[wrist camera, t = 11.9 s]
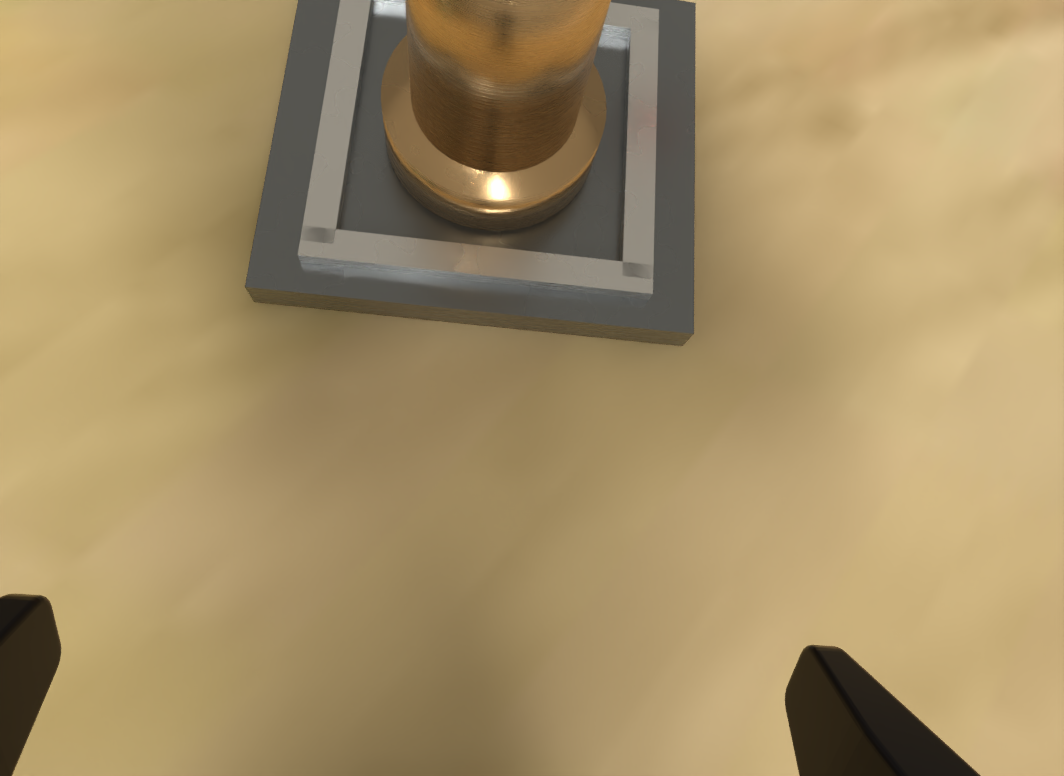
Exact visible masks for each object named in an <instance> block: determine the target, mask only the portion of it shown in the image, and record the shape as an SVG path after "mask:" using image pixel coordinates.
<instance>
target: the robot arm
mask: <svg viewBox="0 0 1064 776" xmlns="http://www.w3.org/2000/svg"><path fill="white" fill-rule="evenodd" d="M60 656H61V643H60V639H59V635H58V631H57V627H56V622H55V618H54V614H53V610H52V606H51V603H50V601H49V600H48V599H47V598H46V597H44V596H41V595H26V594H8V595H5V596H2V597H0V776H12V774H13V772H14V770H15V767H16V765H17V763H18V760H19V758H20V755H21V753H22V751H23V748H24V746H25V744H26V741H27V739H28V737H29V734H30V732H31V729H32V727H33V725H34V722H35V720H36V718H37V715H38V713H39V711H40V708H41V706H42V703H43V701H44V699H45V696H46V694H47V692H48V689H49V687H50V685H51V682H52V680H53V677H54V675H55V673H56V670H57V668H58V665H59V661H60ZM785 707H786V712H787V717H788V722H789V727H790V732H791V736H792V741H793V746H794V751H795V756H796V761H797V766H798V770H799V775H800V776H980V775H979V774H978V773H977V772H976V771H975V770H974V769H973V768H972V767H971V766H970V765H968V764H967V763H966V762H965V761H964V760H963V759H962V758H961V757H960V756H959V755H958V754H956V753H955V752H954V751H953V750H952V749H951V748H950V747H949V746H948V745H947V744H945V743H944V742H943V741H942V740H941V739H940V738H939V737H938V736H937V735H936V734H935V733H933V732H932V731H931V730H930V729H929V728H928V727H927V726H926V725H925V724H924V723H923V722H921V721H920V720H919V719H918V718H917V717H916V716H915V715H914V714H913V713H912V712H911V711H909V710H908V709H907V708H906V707H905V706H904V705H903V704H902V703H901V702H900V701H898V700H897V699H896V698H895V697H894V696H893V695H892V694H891V693H890V692H889V691H888V690H886V689H885V688H884V687H883V686H882V685H881V684H880V683H879V682H878V681H877V680H876V679H874V678H873V677H872V676H871V675H870V674H869V673H868V672H867V671H866V670H865V669H864V668H862V667H861V666H860V665H859V664H858V663H857V662H856V661H855V660H854V659H853V658H851V657H850V656H849V655H848V654H847V653H846V652H845V651H843V650H842V649H840V648H838V647H835V646H820V645H809V646H807V647H806V648H804V649H803V651H802V653H801V655H800V657H799V660H798V662H797V664H796V667H795V669H794V671H793V674H792V676H791V678H790V681H789V683H788V685H787V688H786V693H785Z"/></svg>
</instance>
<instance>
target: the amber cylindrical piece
mask: <svg viewBox="0 0 1064 776" xmlns="http://www.w3.org/2000/svg"><path fill="white" fill-rule="evenodd" d="M610 2H611V0H405V4H406V22H407V35H406V36H405V37H404V38H403V39H402V40H401V41H400V42H399V44H398V45H397V47H396V48H395V49H394V51H393V52H392V54H391V56H390V58H389V60H388V62H387V65H386V68H385V71H384V74H383V79H382V85H381V106H382V114H383V123H384V132H385V140H386V147H387V153H388V156H389V159H390V162H391V165H392V167H393V169H394V171H395V174H396V176H397V177H398V179H399V180H400V182H401V183H402V185H403V186H404V187H405V189H406V190H407V191H408V192H409V193H410V194H411V196H412V197H413V198H415V199H416V200H417V201H418V202H419V203H420V204H421V205H422V206H424V207H425V208H427V209H428V210H430V211H431V212H432V213H434V214H436V215H438V216H440V217H441V218H443V219H445V220H447V221H450V222H453V223H455V224H458V225H461V226H465V227H469V228H473V229H479V230H487V231H505V230H514V229H520V228H524V227H528V226H531V225H534V224H537V223H539V222H542V221H544V220H546V219H548V218H550V217H551V216H553V215H555V214H556V213H558V212H559V211H560V210H562V209H563V208H564V207H565V206H567V205H568V204H569V203H570V202H571V201H572V200H573V199H574V197H575V196H576V195H577V194H578V192H579V191H580V190H581V188H582V186H583V185H584V183H585V181H586V179H587V177H588V174H589V172H590V169H591V166H592V163H593V161H594V158H595V155H596V152H597V149H598V146H599V143H600V141H601V138H602V135H603V131H604V127H605V122H606V110H607V107H606V95H605V91H604V87H603V83H602V80H601V78H600V75H599V73H598V70H597V69H596V67H595V65H594V63H593V61H594V58H595V54H596V51H597V47H598V44H599V40H600V37H601V33H602V30H603V26H604V23H605V19H606V16H607V12H608V9H609V5H610Z"/></svg>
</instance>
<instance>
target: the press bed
mask: <svg viewBox="0 0 1064 776" xmlns="http://www.w3.org/2000/svg"><path fill="white" fill-rule="evenodd" d="M406 35H407V22H406V4H405V0H298V5H297V10H296V16H295V21H294V27H293V32H292V37H291V43H290V48H289V53H288V59H287V64H286V70H285V75H284V80H283V86H282V91H281V96H280V102H279V107H278V113H277V118H276V123H275V129H274V134H273V139H272V145H271V150H270V156H269V161H268V166H267V172H266V177H265V182H264V188H263V193H262V199H261V204H260V209H259V215H258V220H257V225H256V231H255V236H254V242H253V247H252V252H251V258H250V263H249V268H248V274H247V279H246V285H245V288H246V289H247V291H248V292H249V294H250V296H251V297H252V299H253V301H254V302H260V303H270V304H279V305H289V306H299V307H309V308H318V309H328V310H338V311H347V312H357V313H367V314H377V315H386V316H396V317H406V318H416V319H425V320H435V321H445V322H454V323H464V324H474V325H484V326H493V327H503V328H513V329H523V330H532V331H542V332H552V333H561V334H571V335H581V336H591V337H600V338H610V339H620V340H630V341H639V342H649V343H659V344H668V345H678V346H683V345H684V343H685V342H686V341H687V340H688V339H689V338H690V337H691V336H692V335H693V334H694V182H695V3H692V2H685V1H678V0H611V2H610V5H609V9H608V12H607V16H606V19H605V23H604V26H603V30H602V33H601V37H600V40H599V44H598V47H597V51H596V54H595V58H594V61H593V63H594V65H595V67H596V69H597V70H598V73H599V75H600V78H601V80H602V83H603V87H604V91H605V95H606V107H607V110H606V122H605V127H604V131H603V135H602V138H601V141H600V143H599V146H598V149H597V152H596V155H595V158H594V161H593V163H592V166H591V169H590V172H589V174H588V177H587V179H586V181H585V183H584V185H583V186H582V188H581V190H580V191H579V192H578V194H577V195H576V196H575V197H574V199H573V200H572V201H571V202H570V203H569V204H568V205H567V206H565V207H564V208H563V209H562V210H560V211H559V212H558V213H556V214H555V215H553V216H551V217H550V218H548V219H546V220H544V221H542V222H539V223H537V224H534V225H531V226H528V227H524V228H520V229H514V230H505V231H487V230H479V229H473V228H469V227H465V226H461V225H458V224H455V223H453V222H450V221H447V220H445V219H443V218H441V217H440V216H438V215H436V214H434V213H432V212H431V211H430V210H428V209H427V208H425V207H424V206H422V205H421V204H420V203H419V202H418V201H417V200H416V199H415V198H413V197H412V196H411V194H410V193H409V192H408V191H407V190H406V189H405V187H404V186H403V185H402V183H401V182H400V180H399V179H398V177H397V176H396V174H395V171H394V169H393V167H392V165H391V162H390V159H389V156H388V153H387V147H386V140H385V132H384V123H383V114H382V106H381V85H382V79H383V74H384V71H385V68H386V65H387V62H388V60H389V58H390V56H391V54H392V52H393V51H394V49H395V48H396V47H397V45H398V44H399V42H400V41H401V40H402V39H403V38H404V37H405V36H406Z"/></svg>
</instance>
